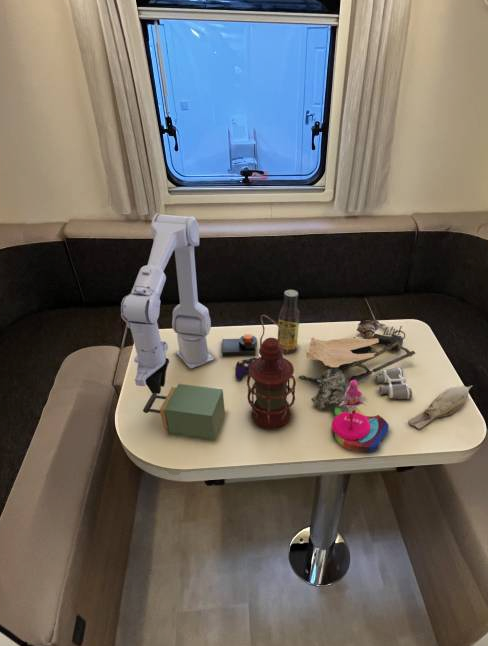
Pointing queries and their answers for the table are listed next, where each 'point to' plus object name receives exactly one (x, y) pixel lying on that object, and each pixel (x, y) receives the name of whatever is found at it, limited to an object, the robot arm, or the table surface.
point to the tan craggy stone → (339, 350)
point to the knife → (309, 378)
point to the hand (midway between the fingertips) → (158, 389)
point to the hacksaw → (368, 372)
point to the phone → (357, 351)
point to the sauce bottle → (289, 321)
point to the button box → (238, 347)
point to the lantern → (271, 384)
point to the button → (247, 338)
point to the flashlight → (389, 339)
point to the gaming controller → (242, 367)
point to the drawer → (162, 409)
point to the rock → (331, 388)
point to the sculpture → (442, 405)
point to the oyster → (368, 327)
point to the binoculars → (394, 390)
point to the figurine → (351, 416)
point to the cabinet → (195, 411)
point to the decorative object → (371, 439)
